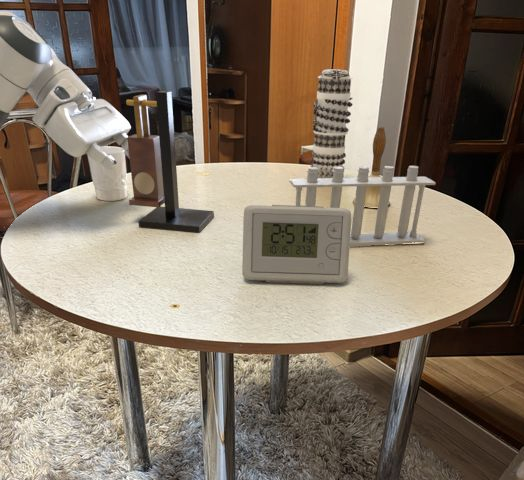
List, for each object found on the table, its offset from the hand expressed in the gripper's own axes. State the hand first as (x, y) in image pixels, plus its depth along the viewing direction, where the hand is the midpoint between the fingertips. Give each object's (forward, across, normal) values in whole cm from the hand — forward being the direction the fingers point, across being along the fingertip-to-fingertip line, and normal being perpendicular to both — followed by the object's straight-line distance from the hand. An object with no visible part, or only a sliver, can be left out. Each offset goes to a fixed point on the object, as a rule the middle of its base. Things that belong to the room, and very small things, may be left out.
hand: (124, 161), depth 96 cm
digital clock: (+33, +20, +18) cm, 43 cm away
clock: (+8, -1, -2) cm, 9 cm away
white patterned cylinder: (+32, -41, +17) cm, 55 cm away
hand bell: (+41, -24, +25) cm, 54 cm away
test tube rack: (+39, +2, +24) cm, 46 cm away
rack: (+14, 0, -2) cm, 14 cm away
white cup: (0, -13, -15) cm, 20 cm away
